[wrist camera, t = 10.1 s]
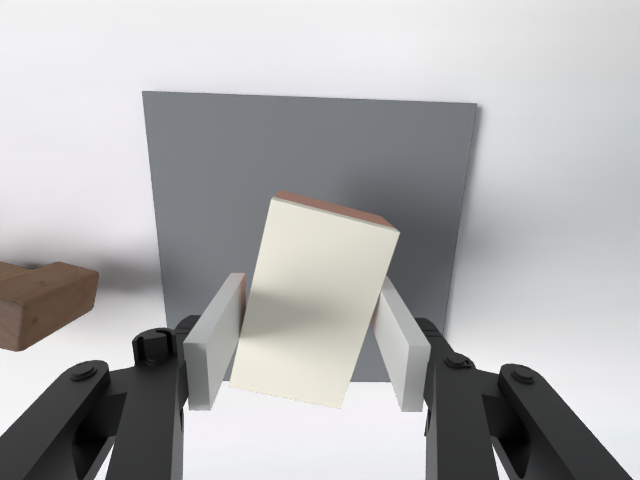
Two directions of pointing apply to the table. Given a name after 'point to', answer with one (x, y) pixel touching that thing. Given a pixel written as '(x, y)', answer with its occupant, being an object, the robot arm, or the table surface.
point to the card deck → (311, 299)
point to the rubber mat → (304, 188)
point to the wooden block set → (42, 301)
